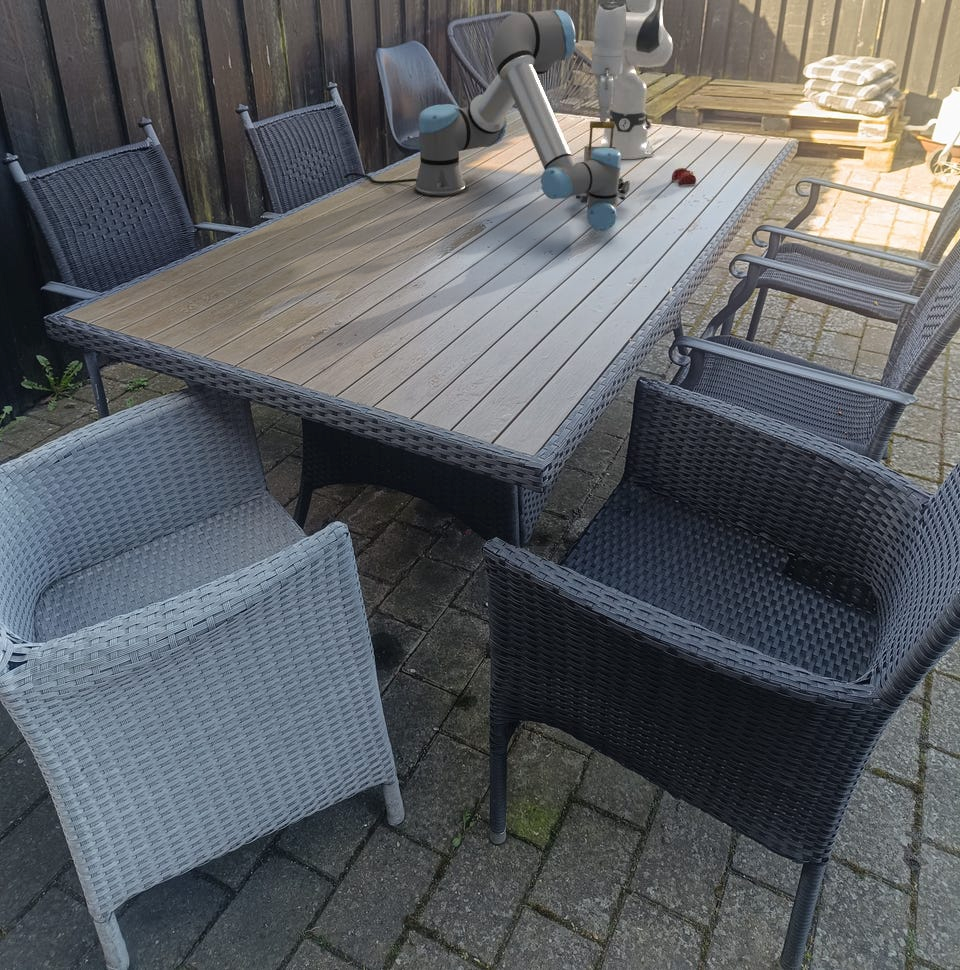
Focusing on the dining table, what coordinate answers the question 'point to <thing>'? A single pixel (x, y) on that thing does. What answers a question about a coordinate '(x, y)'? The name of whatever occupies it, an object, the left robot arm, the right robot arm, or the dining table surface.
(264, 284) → the dining table surface
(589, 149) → the lid
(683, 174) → the dark red rounded lump
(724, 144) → the dining table surface
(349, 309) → the dining table surface
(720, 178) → the dining table surface
